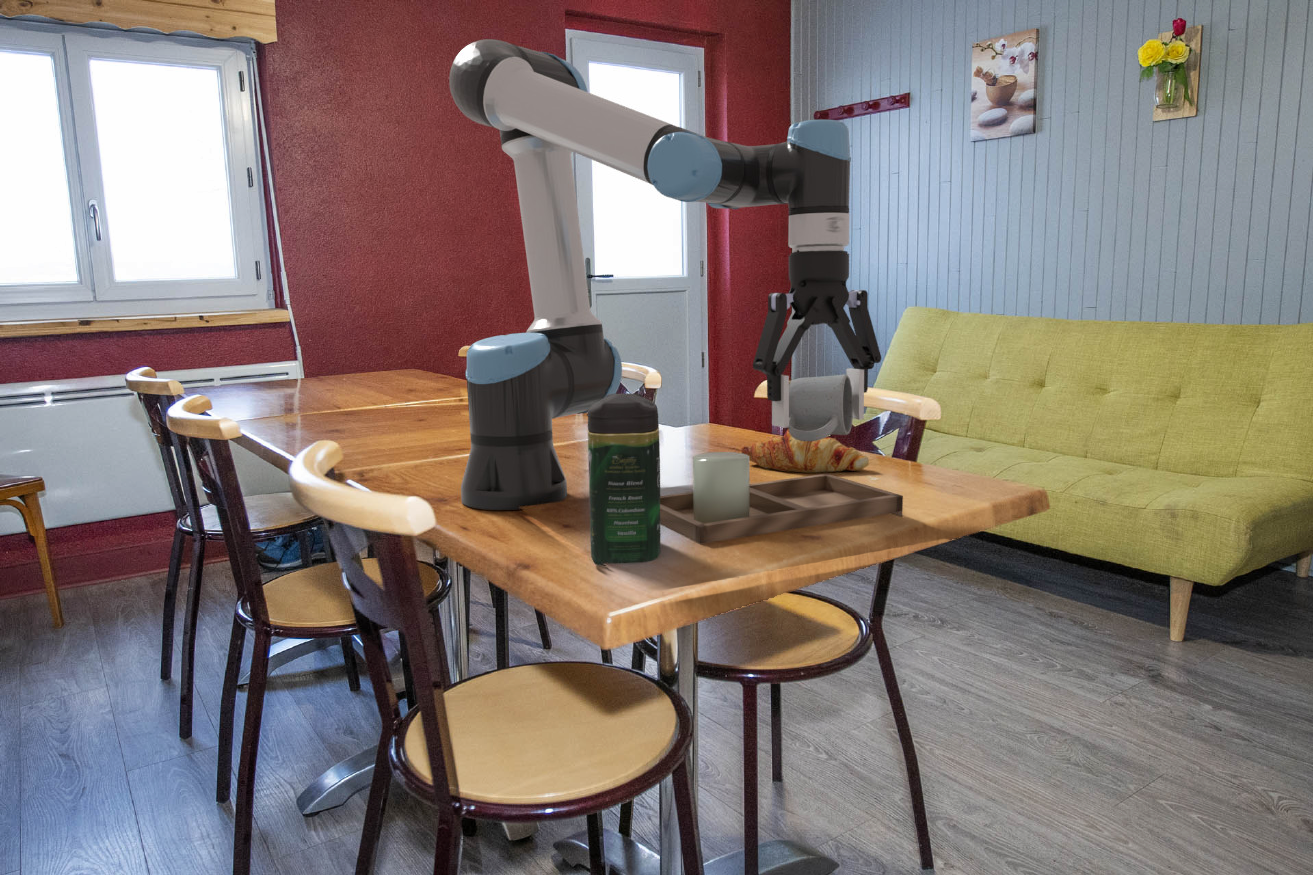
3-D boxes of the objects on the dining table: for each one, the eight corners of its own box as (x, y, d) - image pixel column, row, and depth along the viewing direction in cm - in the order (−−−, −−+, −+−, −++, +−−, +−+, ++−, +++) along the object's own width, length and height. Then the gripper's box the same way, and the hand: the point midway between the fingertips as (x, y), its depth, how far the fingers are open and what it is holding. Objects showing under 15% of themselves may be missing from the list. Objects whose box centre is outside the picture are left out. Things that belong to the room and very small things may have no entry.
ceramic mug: (792, 427, 127) (792, 371, 125) (853, 429, 124) (854, 371, 123) (775, 442, 117) (774, 381, 116) (840, 444, 114) (841, 382, 113)
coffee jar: (662, 571, 100) (658, 399, 97) (588, 572, 100) (582, 401, 97) (661, 545, 110) (658, 388, 107) (594, 547, 110) (589, 390, 107)
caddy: (699, 552, 107) (699, 526, 106) (640, 521, 121) (639, 498, 120) (902, 518, 119) (902, 495, 119) (827, 494, 134) (827, 473, 133)
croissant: (871, 489, 151) (876, 443, 153) (862, 472, 142) (868, 422, 144) (745, 479, 159) (752, 434, 161) (729, 461, 150) (737, 415, 152)
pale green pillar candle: (710, 529, 112) (710, 464, 111) (683, 517, 118) (682, 455, 117) (760, 522, 115) (760, 458, 114) (731, 510, 121) (730, 449, 120)
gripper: (755, 249, 109) (757, 434, 113) (911, 247, 119) (908, 417, 123) (723, 252, 116) (725, 426, 119) (873, 250, 126) (871, 411, 129)
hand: (818, 422), depth 121 cm, fingers closed on ceramic mug, 11 cm apart
